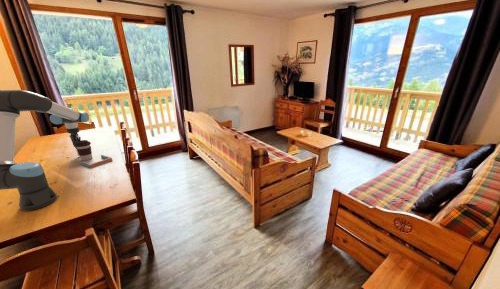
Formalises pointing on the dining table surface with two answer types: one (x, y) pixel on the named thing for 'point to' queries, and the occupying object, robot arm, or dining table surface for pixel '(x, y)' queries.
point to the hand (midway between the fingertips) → (80, 155)
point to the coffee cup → (84, 149)
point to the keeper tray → (107, 159)
